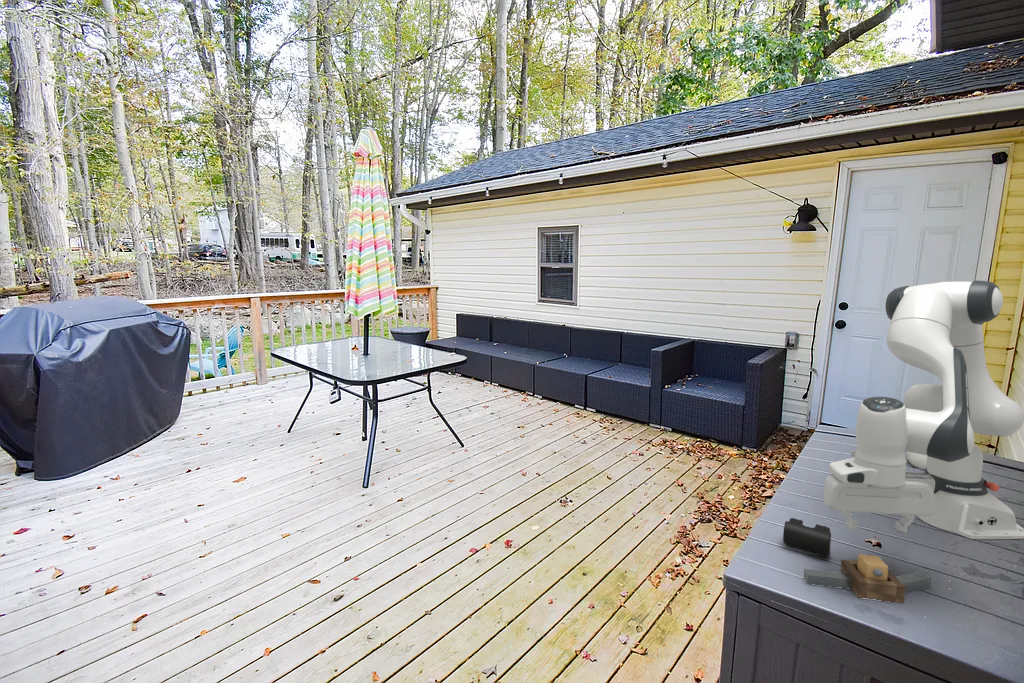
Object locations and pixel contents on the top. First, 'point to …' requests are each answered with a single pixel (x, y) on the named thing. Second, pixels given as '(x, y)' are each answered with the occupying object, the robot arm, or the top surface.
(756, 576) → the top surface
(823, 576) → the steel shafts
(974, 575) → the top surface
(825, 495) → the robot arm
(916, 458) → the lidded jar
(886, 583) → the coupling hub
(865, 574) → the block
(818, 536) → the end cap
